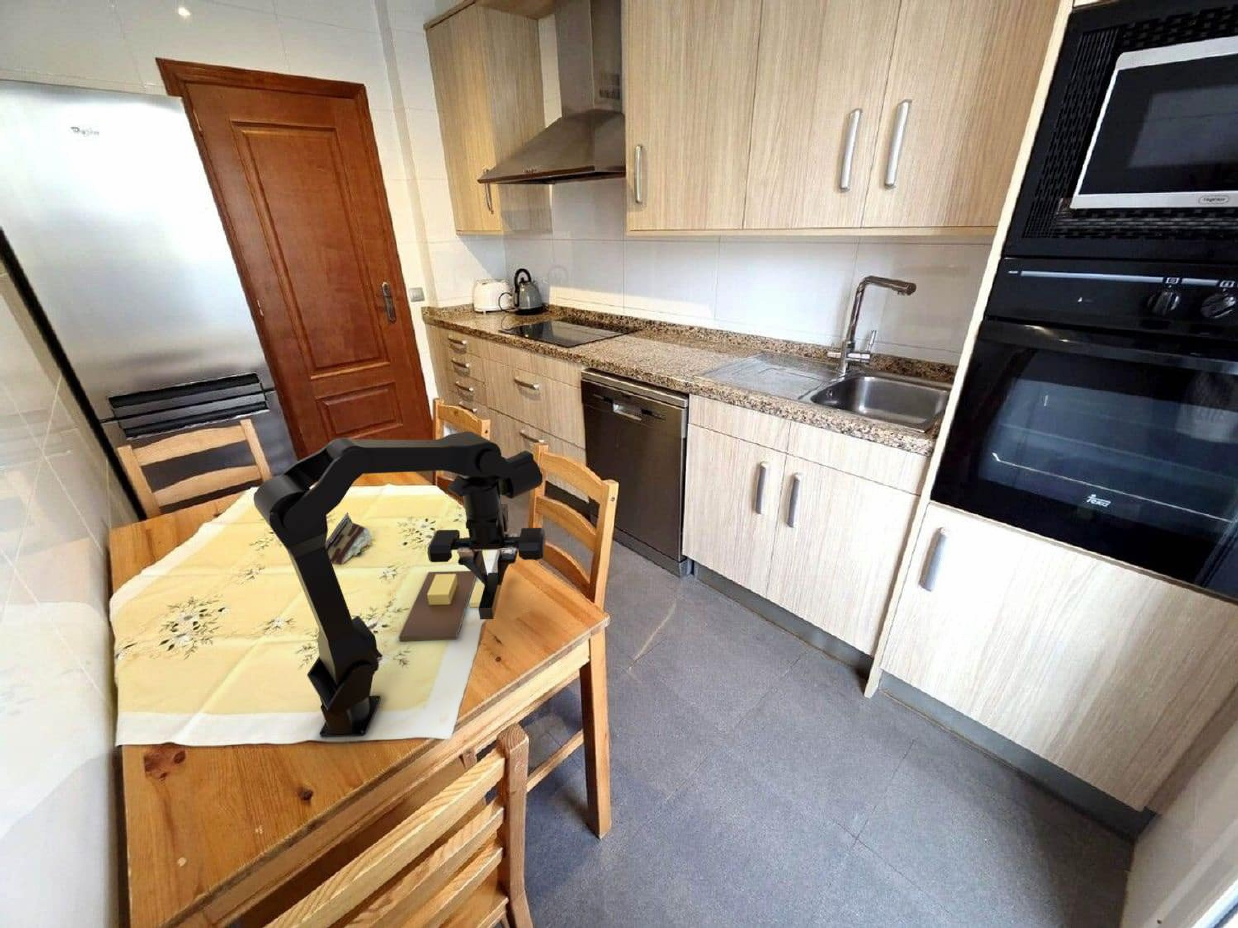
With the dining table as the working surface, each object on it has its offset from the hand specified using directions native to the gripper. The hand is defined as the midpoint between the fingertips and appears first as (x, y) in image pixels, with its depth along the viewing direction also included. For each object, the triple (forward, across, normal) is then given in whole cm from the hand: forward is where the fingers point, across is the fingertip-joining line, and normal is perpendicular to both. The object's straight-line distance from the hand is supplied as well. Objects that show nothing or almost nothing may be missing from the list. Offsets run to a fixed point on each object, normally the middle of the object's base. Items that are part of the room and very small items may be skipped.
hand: (493, 583), depth 88 cm
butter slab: (+9, +4, -8) cm, 12 cm away
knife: (+1, 0, -3) cm, 3 cm away
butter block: (+9, +12, -8) cm, 17 cm away
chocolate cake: (+10, +37, -24) cm, 45 cm away
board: (+10, +12, -6) cm, 17 cm away
